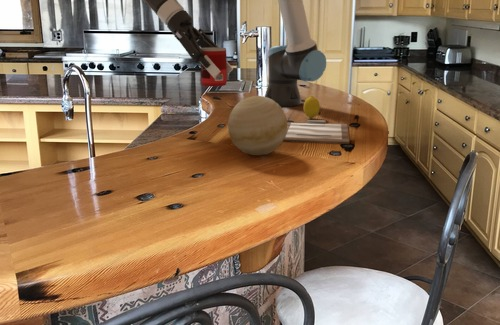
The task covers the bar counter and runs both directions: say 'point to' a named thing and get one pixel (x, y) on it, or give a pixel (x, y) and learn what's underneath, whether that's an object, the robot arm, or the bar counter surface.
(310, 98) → the lemon
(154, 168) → the bar counter surface
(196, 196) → the bar counter surface
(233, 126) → the decorative ball
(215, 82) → the canned food
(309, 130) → the clipboard
